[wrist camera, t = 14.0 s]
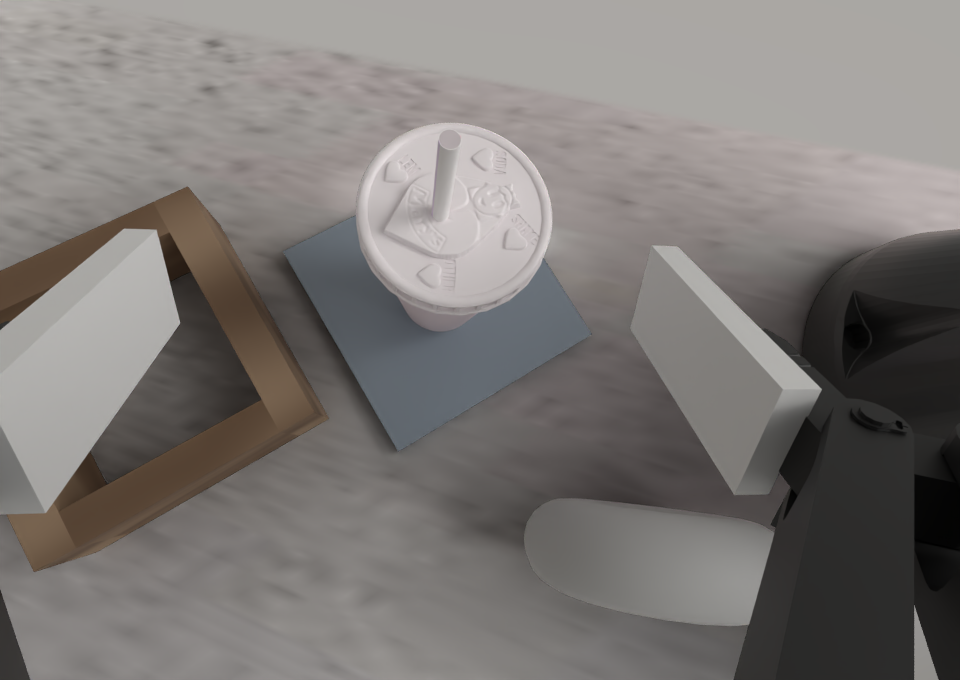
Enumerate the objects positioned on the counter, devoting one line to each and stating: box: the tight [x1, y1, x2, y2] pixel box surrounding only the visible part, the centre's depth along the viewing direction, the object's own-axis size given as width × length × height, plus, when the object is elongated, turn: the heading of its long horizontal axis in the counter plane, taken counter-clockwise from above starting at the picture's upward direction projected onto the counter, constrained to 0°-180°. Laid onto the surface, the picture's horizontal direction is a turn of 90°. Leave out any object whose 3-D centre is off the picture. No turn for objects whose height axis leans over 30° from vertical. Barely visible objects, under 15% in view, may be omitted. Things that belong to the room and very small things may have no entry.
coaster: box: [283, 215, 592, 452], centre depth 27 cm, size 11×11×1 cm
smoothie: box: [356, 123, 552, 332], centre depth 20 cm, size 6×6×14 cm
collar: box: [0, 187, 329, 572], centre depth 23 cm, size 11×11×4 cm
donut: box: [524, 498, 775, 626], centre depth 21 cm, size 10×4×10 cm, turn 84°
